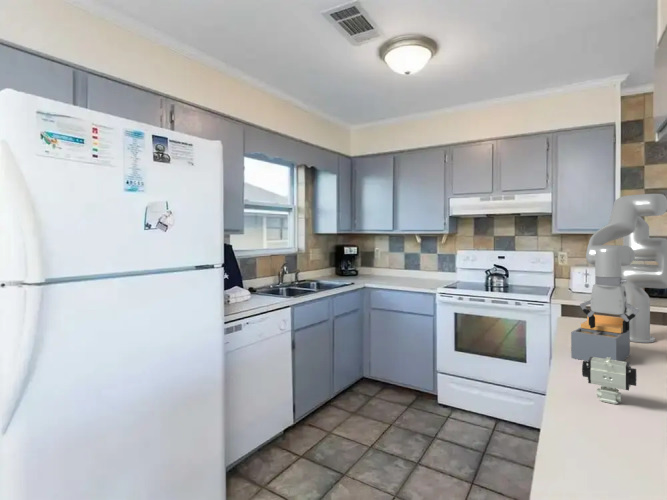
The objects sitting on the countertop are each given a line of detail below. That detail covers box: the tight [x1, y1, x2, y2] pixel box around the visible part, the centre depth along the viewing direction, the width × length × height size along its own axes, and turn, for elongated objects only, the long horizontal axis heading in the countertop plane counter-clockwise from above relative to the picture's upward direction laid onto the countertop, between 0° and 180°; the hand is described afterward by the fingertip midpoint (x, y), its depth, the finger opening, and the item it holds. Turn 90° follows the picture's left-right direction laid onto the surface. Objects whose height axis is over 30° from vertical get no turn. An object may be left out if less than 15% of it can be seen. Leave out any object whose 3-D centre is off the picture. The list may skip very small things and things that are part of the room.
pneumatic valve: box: [581, 357, 638, 405], centre depth 104 cm, size 6×12×12 cm, turn 50°
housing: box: [570, 326, 631, 362], centre depth 141 cm, size 18×14×10 cm
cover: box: [580, 313, 624, 333], centre depth 144 cm, size 9×12×4 cm
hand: (608, 329), depth 136 cm, fingers open, 9 cm apart
